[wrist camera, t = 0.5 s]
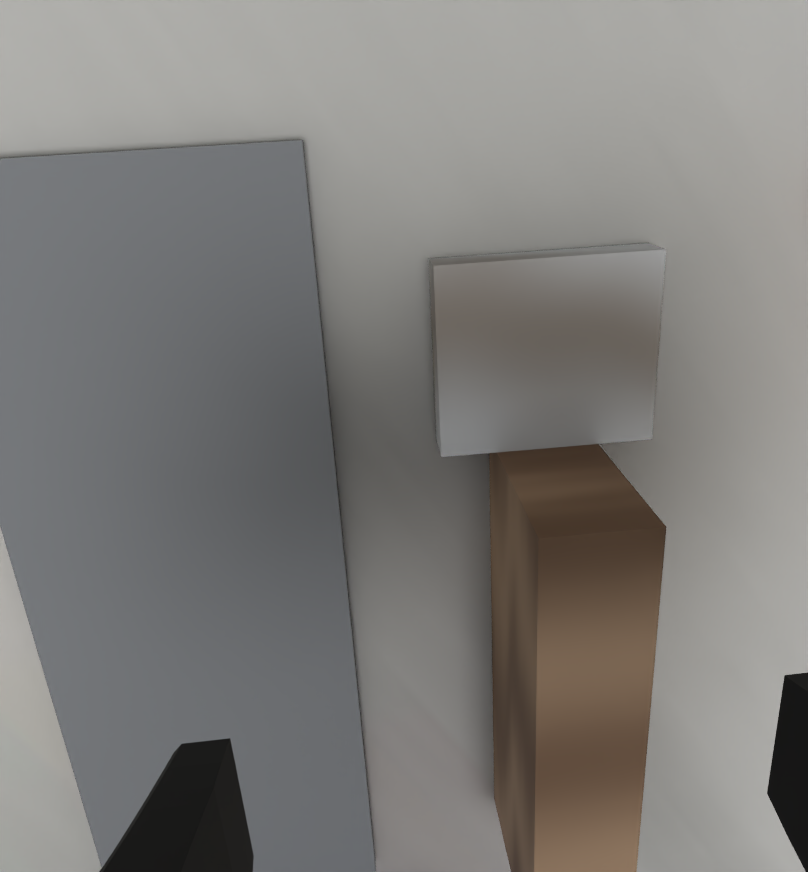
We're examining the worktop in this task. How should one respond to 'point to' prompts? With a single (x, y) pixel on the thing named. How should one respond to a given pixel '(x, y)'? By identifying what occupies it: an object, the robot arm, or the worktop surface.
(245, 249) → the mat
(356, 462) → the worktop surface
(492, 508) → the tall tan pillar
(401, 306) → the worktop surface
